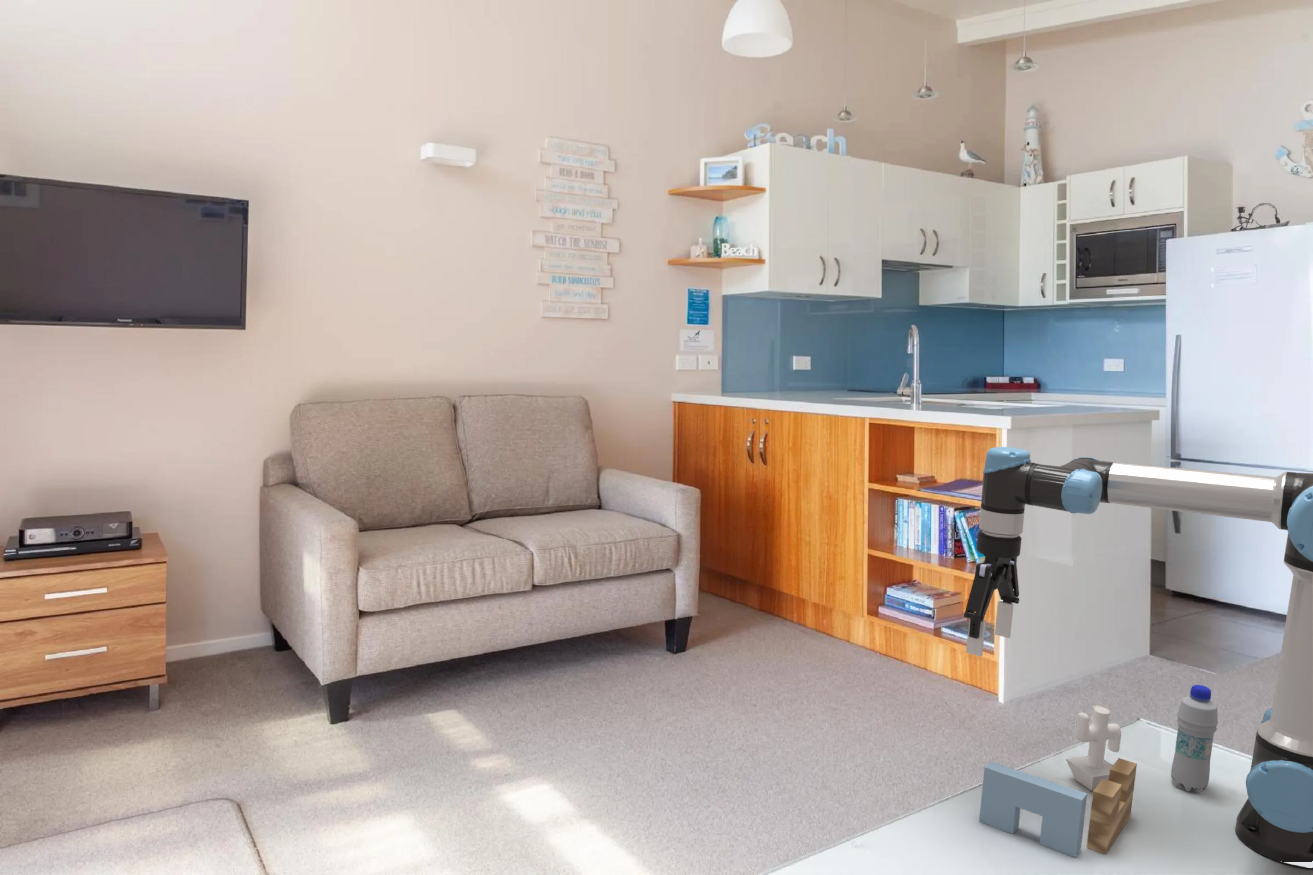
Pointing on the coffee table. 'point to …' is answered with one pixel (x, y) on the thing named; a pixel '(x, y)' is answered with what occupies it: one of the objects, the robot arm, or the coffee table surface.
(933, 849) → the coffee table surface
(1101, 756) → the figurine
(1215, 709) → the bottle
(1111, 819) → the wooden block stack
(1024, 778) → the blue bridge block
